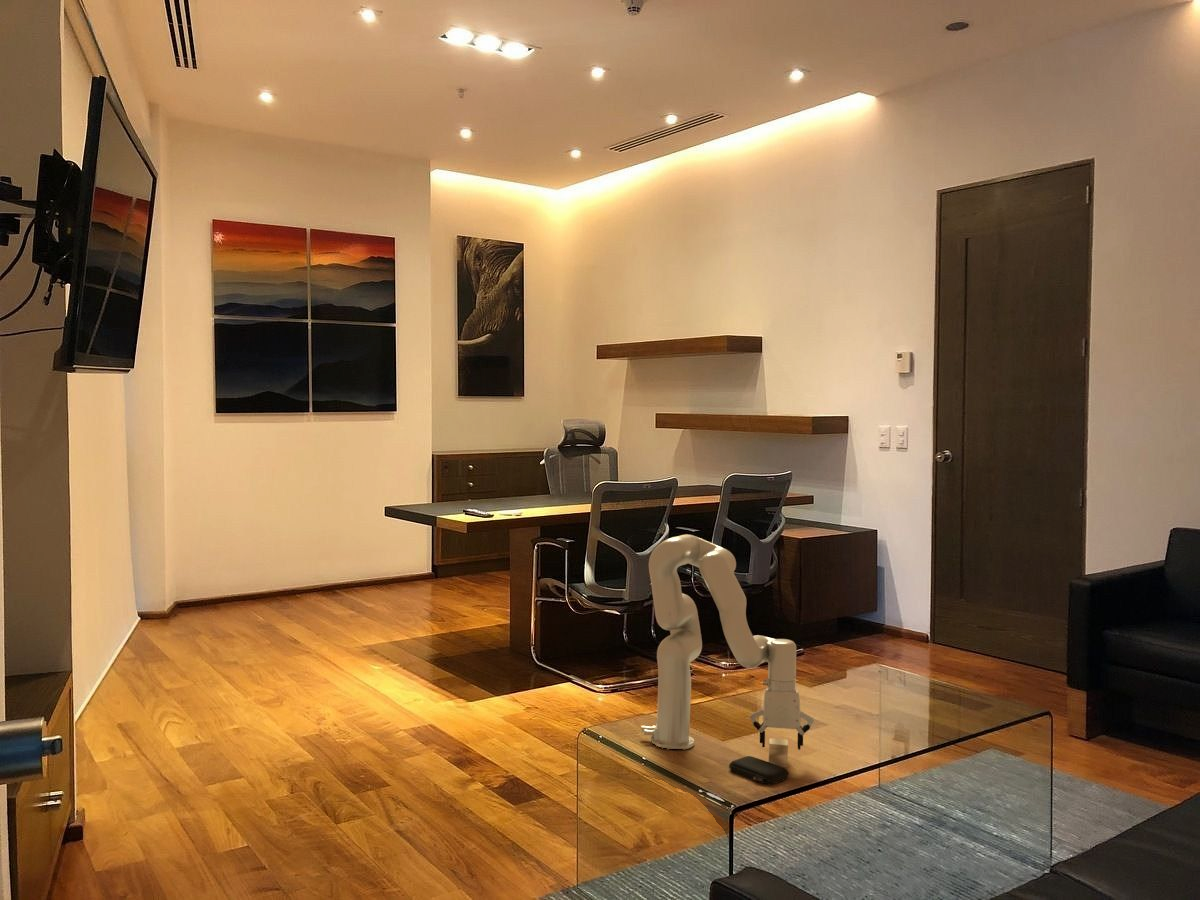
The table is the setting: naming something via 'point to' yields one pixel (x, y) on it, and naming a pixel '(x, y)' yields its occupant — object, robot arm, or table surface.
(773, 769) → the carrying case or bag
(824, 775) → the table surface
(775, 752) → the birch block
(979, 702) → the table surface
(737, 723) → the table surface
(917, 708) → the table surface
